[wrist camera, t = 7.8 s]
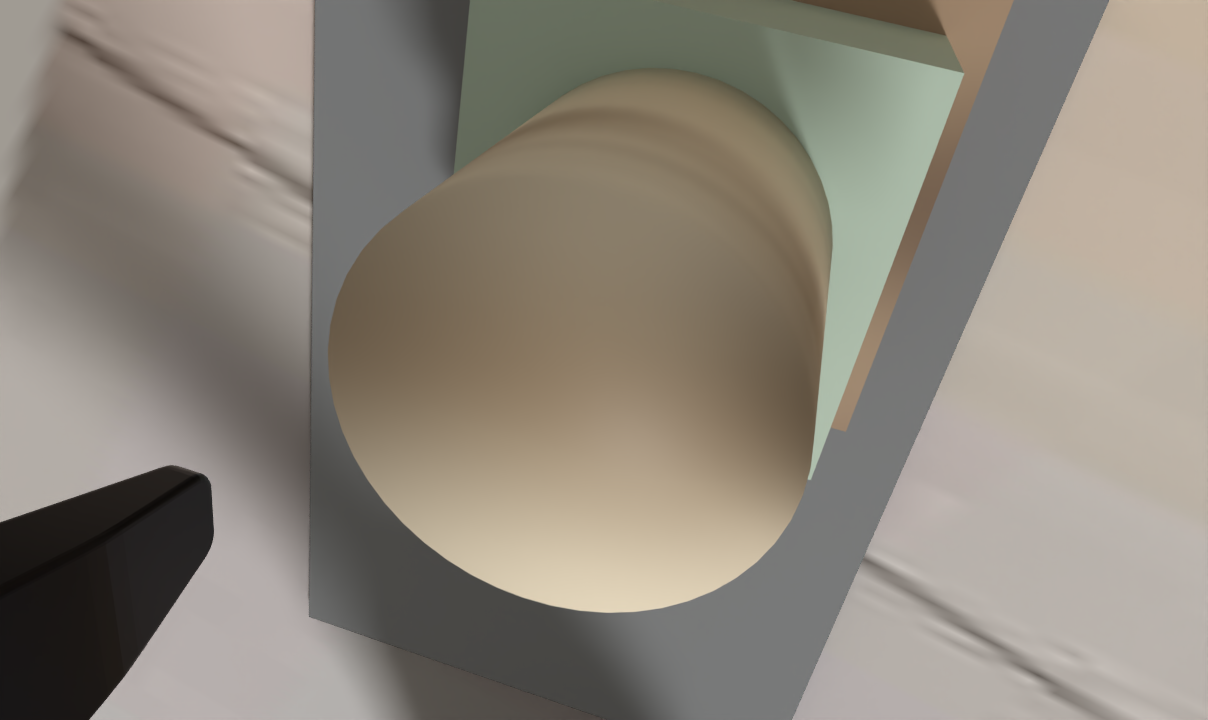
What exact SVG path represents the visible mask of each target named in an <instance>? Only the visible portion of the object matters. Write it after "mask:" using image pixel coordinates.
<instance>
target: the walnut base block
mask: <svg viewBox="0 0 1208 720" xmlns="http://www.w3.org/2000/svg"><path fill="white" fill-rule="evenodd" d="M792 1H797V2H801V3H805V4H810V5H814V6H819V7H823V8H827V9H832V10H836V11H840V12H845V13H849V14H853V15H858V16H862V17H867V18H871V19H875V20H880V21H884V22H888V23H893V24H897V25H902V26H906V27H910V28H915V29H919V30H923V31H928V32H932V33H936V34H941V35H945V36H947V38H948V40H949V42H950V44H951V46H952V48H953V50H954V53H955V55H956V57H957V59H958V61H959V63H960V65H961V67H962V69H963V71H964V76H963V78H962V81H961V84H960V86H959V89H958V92H957V94H956V97H955V100H954V102H953V105H952V107H951V110H950V113H949V115H948V118H947V121H946V123H945V126H944V129H943V131H942V134H941V137H940V139H939V142H938V145H937V147H936V150H935V152H934V155H933V158H932V160H931V163H930V166H929V168H928V171H927V174H926V176H925V179H924V182H923V184H922V187H921V190H920V192H919V195H918V197H917V200H916V203H915V205H914V208H913V211H912V213H911V216H910V219H909V221H908V224H907V227H906V229H905V232H904V235H903V237H902V240H901V242H900V245H899V248H898V250H897V253H896V256H895V258H894V261H893V264H892V266H891V269H890V272H889V274H888V277H887V280H886V282H885V285H884V287H883V290H882V293H881V295H880V298H879V301H878V303H877V306H876V309H875V311H874V314H873V317H872V319H871V322H870V325H869V327H868V330H867V332H866V335H865V338H864V340H863V343H862V346H861V348H860V351H859V354H858V356H857V359H856V362H855V364H854V367H853V370H852V372H851V375H850V378H849V380H848V383H847V385H846V388H845V391H844V393H843V396H842V399H841V401H840V404H839V407H838V409H837V412H836V415H835V417H834V420H833V423H832V425H831V428H834V429H838V430H841V431H844V432H846V430H847V427H848V425H849V422H850V420H851V417H852V414H853V412H854V409H855V407H856V404H857V402H858V399H859V396H860V394H861V391H862V389H863V386H864V384H865V381H866V378H867V376H868V373H869V371H870V368H871V366H872V363H873V361H874V358H875V355H876V353H877V350H878V348H879V345H880V343H881V340H882V337H883V335H884V332H885V330H886V327H887V325H888V322H889V319H890V317H891V314H892V312H893V309H894V307H895V304H896V301H897V299H898V296H899V294H900V291H901V289H902V286H903V283H904V281H905V278H906V276H907V273H908V271H909V268H910V265H911V263H912V260H913V258H914V255H915V253H916V250H917V248H918V245H919V242H920V240H921V237H922V235H923V232H924V230H925V227H926V224H927V222H928V219H929V217H930V214H931V212H932V209H933V206H934V204H935V201H936V199H937V196H938V194H939V191H940V188H941V186H942V183H943V181H944V178H945V176H946V173H947V170H948V168H949V165H950V163H951V160H952V158H953V155H954V152H955V150H956V147H957V145H958V142H959V140H960V137H961V134H962V132H963V129H964V127H965V124H966V122H967V119H968V117H969V114H970V111H971V109H972V106H973V104H974V101H975V99H976V96H977V93H978V91H979V88H980V86H981V83H982V81H983V78H984V75H985V73H986V70H987V68H988V65H989V63H990V60H991V57H992V55H993V52H994V50H995V47H996V45H997V42H998V39H999V37H1000V34H1001V32H1002V29H1003V27H1004V24H1005V21H1006V19H1007V16H1008V14H1009V11H1010V9H1011V6H1012V4H1013V1H1014V0H792Z"/></svg>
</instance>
